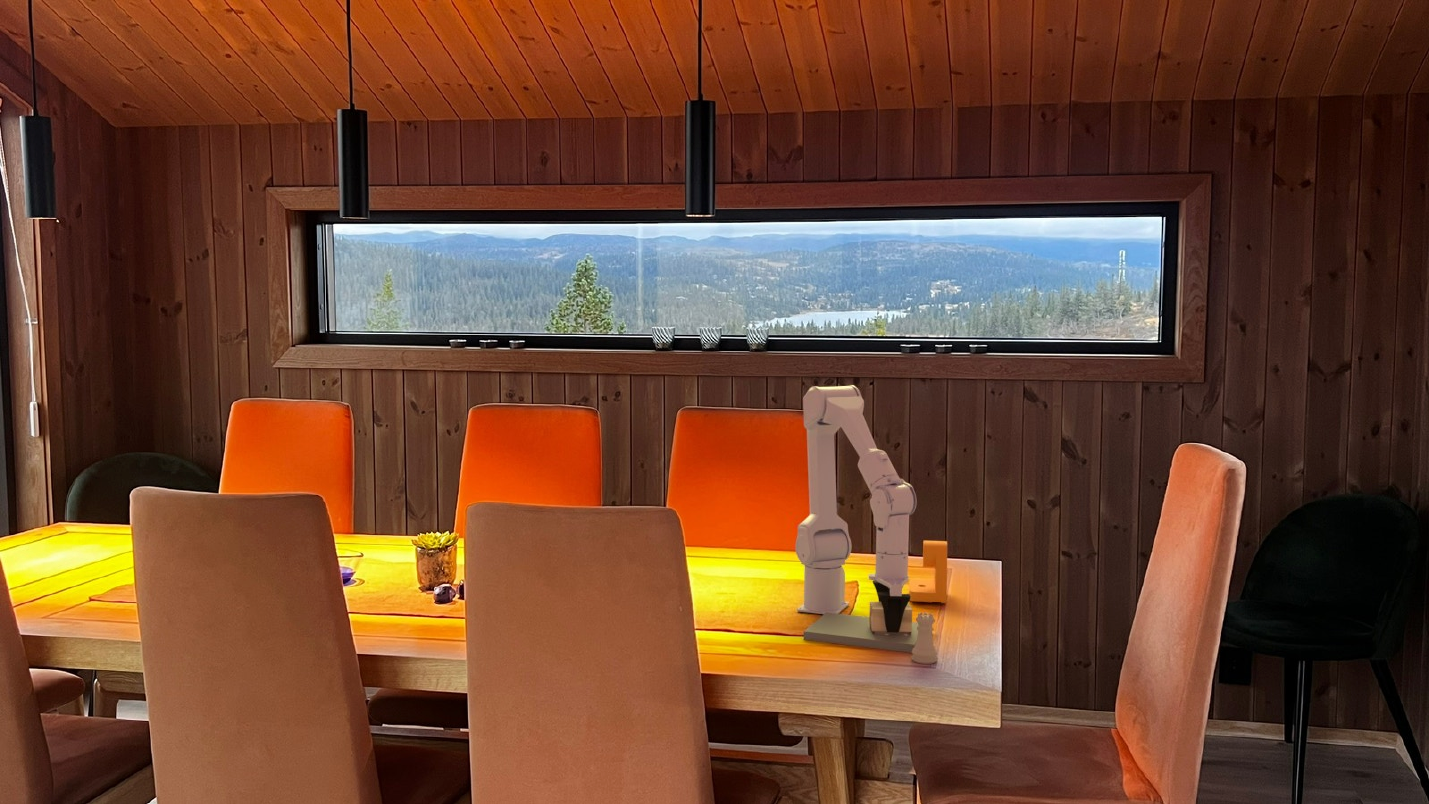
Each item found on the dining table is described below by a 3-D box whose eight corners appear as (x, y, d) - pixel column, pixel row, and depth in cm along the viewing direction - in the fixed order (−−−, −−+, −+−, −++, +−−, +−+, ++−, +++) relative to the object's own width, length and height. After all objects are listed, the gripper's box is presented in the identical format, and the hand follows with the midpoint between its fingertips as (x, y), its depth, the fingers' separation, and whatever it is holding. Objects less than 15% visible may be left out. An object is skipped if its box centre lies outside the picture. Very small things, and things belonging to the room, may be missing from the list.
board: (826, 620, 230) (826, 612, 230) (931, 632, 223) (931, 624, 222) (803, 639, 217) (803, 631, 217) (914, 653, 210) (914, 644, 210)
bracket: (909, 591, 253) (910, 534, 252) (944, 593, 252) (946, 536, 251) (909, 605, 242) (910, 545, 241) (946, 606, 241) (947, 547, 240)
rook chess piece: (934, 666, 203) (936, 619, 202) (908, 662, 204) (909, 616, 204) (940, 658, 207) (941, 612, 206) (914, 655, 208) (915, 609, 208)
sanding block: (869, 626, 221) (869, 601, 220) (907, 626, 221) (908, 602, 220) (872, 633, 216) (872, 609, 215) (911, 634, 216) (912, 609, 215)
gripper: (865, 542, 224) (864, 614, 226) (873, 560, 210) (871, 637, 211) (904, 543, 224) (902, 615, 225) (914, 560, 210) (912, 637, 211)
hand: (890, 625), depth 218 cm, fingers open, 7 cm apart
